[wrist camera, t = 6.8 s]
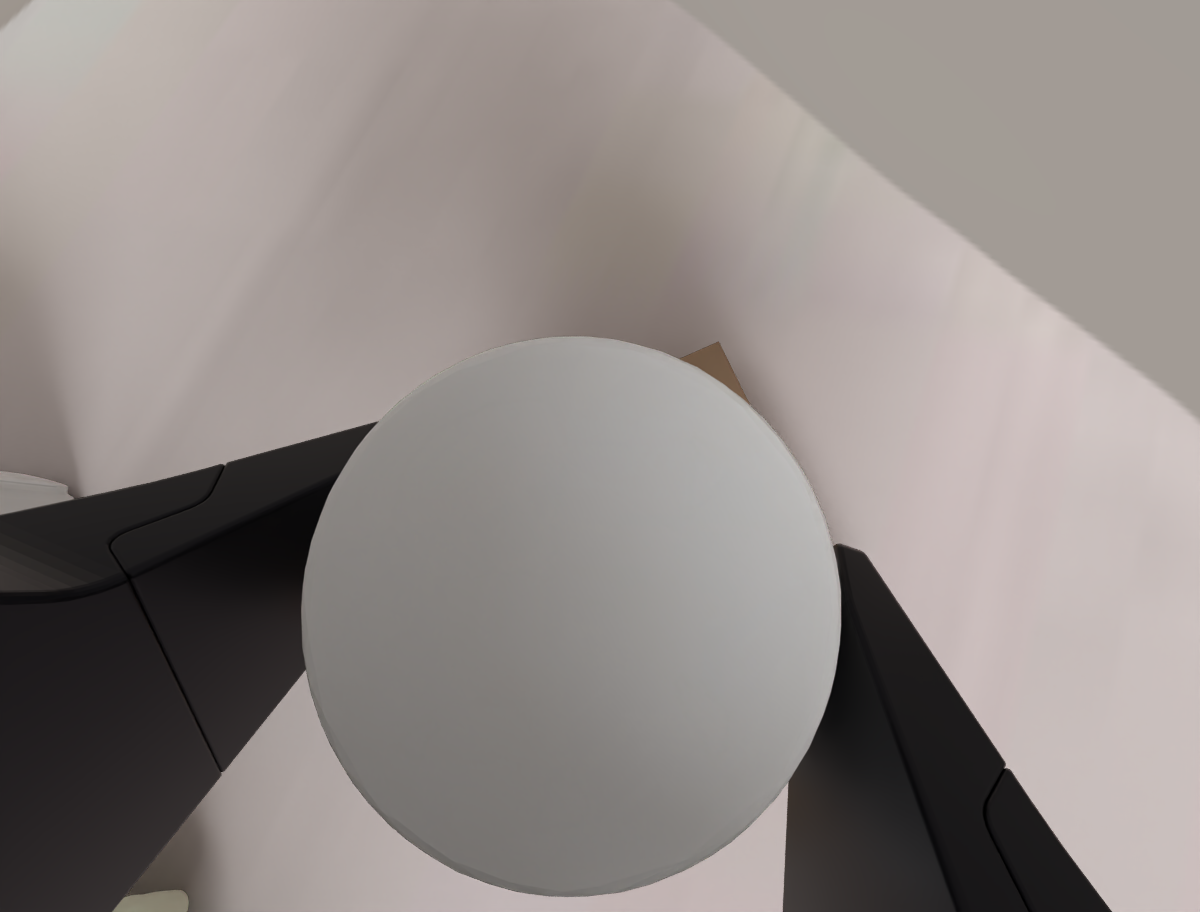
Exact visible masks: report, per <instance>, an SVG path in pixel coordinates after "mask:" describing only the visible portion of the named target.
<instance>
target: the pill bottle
mask: <svg viewBox="0 0 1200 912" xmlns="http://www.w3.org/2000/svg"><path fill="white" fill-rule="evenodd" d="M301 618H302V648H303V654H304V660H305V666H306V672H307V677H308V682H309V686H310V691H311V695H312V698H313V701H314V704H315V707H316V710H317V713H318V716H319V719H320V722H321V725H322V727H323V729H324V732H325V734H326V736H327V738H328V741H329V743H330V745H331V747H332V748H333V750H334V752H335V754H336V756H337V758H338V759H339V761H340V763H341V765H342V766H343V768H344V770H345V771H346V773H347V775H348V776H349V778H350V779H351V781H352V783H353V784H354V785H355V786H356V788H357V789H358V790H359V792H360V793H361V794H362V795H363V797H364V798H365V799H366V801H367V802H368V803H369V804H370V805H371V806H372V807H373V808H374V809H375V810H376V811H377V812H378V814H379V815H380V816H381V817H382V818H383V819H384V820H385V821H386V822H387V823H388V824H389V825H390V826H391V827H392V828H393V829H395V830H396V831H397V832H398V833H399V834H401V835H402V836H403V837H404V838H405V839H407V840H408V841H409V842H411V843H412V844H413V845H415V846H416V847H418V848H419V849H420V850H422V851H423V852H425V853H426V854H428V855H430V856H431V857H433V858H434V859H436V860H438V861H439V862H441V863H443V864H444V865H446V866H448V867H450V868H451V869H453V870H455V871H457V872H459V873H461V874H464V875H467V876H469V877H472V878H475V879H477V880H480V881H483V882H485V883H488V884H491V885H494V886H498V887H501V888H505V889H508V890H512V891H516V892H522V893H527V894H535V895H543V896H558V897H580V896H595V895H603V894H611V893H619V892H624V891H628V890H631V889H635V888H639V887H642V886H646V885H650V884H653V883H655V882H657V881H660V880H662V879H665V878H667V877H670V876H672V875H675V874H677V873H680V872H682V871H684V870H686V869H688V868H690V867H692V866H694V865H695V864H697V863H699V862H701V861H703V860H705V859H706V858H708V857H710V856H712V855H713V854H715V853H716V852H718V851H719V850H720V849H722V848H723V847H725V846H726V845H728V844H729V843H731V842H732V841H733V840H734V839H735V838H736V837H738V836H739V835H740V834H741V833H742V832H743V831H744V830H746V829H747V828H748V827H749V826H750V825H751V824H752V823H753V822H754V821H755V820H756V819H757V818H758V817H759V816H760V815H761V814H762V813H763V812H764V810H765V809H766V808H767V807H768V806H769V805H770V804H771V803H772V802H773V801H774V800H775V799H776V797H777V796H778V795H779V793H780V792H781V791H782V789H783V788H784V787H785V785H786V784H787V783H788V782H789V780H790V778H791V777H792V775H793V773H794V772H795V770H796V768H797V767H798V765H799V763H800V762H801V760H802V759H803V757H804V755H805V754H806V752H807V750H808V749H809V747H810V745H811V742H812V740H813V738H814V735H815V733H816V731H817V728H818V726H819V724H820V721H821V719H822V717H823V714H824V711H825V708H826V705H827V702H828V699H829V696H830V693H831V689H832V685H833V681H834V677H835V672H836V665H837V659H838V652H839V645H840V633H841V588H840V581H839V574H838V568H837V561H836V557H835V553H834V548H833V545H832V541H831V537H830V534H829V530H828V526H827V523H826V519H825V516H824V514H823V512H822V509H821V507H820V505H819V502H818V500H817V498H816V495H815V493H814V491H813V489H812V487H811V485H810V483H809V481H808V479H807V477H806V475H805V473H804V472H803V470H802V469H801V467H800V466H799V464H798V463H797V461H796V460H795V458H794V457H793V455H792V454H791V452H790V450H789V449H788V447H787V446H786V444H785V443H784V441H783V440H782V439H781V438H780V437H779V435H778V434H777V433H776V432H775V431H774V430H773V428H772V427H771V426H770V425H769V424H768V423H767V421H766V420H765V419H764V418H763V417H762V416H761V415H760V414H759V413H758V412H757V411H755V410H754V409H753V408H752V407H751V406H750V405H749V404H748V403H747V402H746V401H745V400H744V399H743V398H741V397H740V396H739V395H737V394H736V393H734V392H733V391H732V390H730V389H729V388H728V387H727V386H726V385H724V384H723V383H721V382H720V381H718V380H716V379H715V378H713V377H712V376H710V375H709V374H707V373H706V372H704V371H702V370H701V369H699V368H698V367H696V366H693V365H691V364H689V363H687V362H684V361H682V360H680V359H678V358H676V357H673V356H671V355H669V354H667V353H665V352H662V351H659V350H655V349H652V348H648V347H644V346H641V345H637V344H634V343H629V342H625V341H621V340H616V339H608V338H598V337H588V336H559V337H548V338H540V339H533V340H527V341H522V342H517V343H511V344H507V345H504V346H500V347H497V348H493V349H490V350H487V351H485V352H482V353H480V354H477V355H475V356H472V357H470V358H467V359H465V360H463V361H461V362H459V363H457V364H455V365H453V366H452V367H450V368H448V369H446V370H444V371H442V372H440V373H438V374H437V375H435V376H434V377H432V378H430V379H429V380H427V381H426V382H424V383H423V384H421V385H420V386H418V387H417V388H416V389H415V390H414V391H412V392H411V393H410V394H409V395H407V396H406V397H405V398H403V399H402V400H401V401H399V402H398V403H397V404H396V405H395V406H394V407H393V408H392V409H391V410H390V411H389V412H388V413H387V414H386V415H385V416H384V417H383V418H382V419H381V420H380V421H379V422H378V423H377V424H376V425H375V426H374V427H373V428H372V430H371V431H370V432H369V433H368V434H367V435H366V436H365V438H364V439H363V440H362V442H361V443H360V444H359V446H358V447H357V448H356V449H355V451H354V452H353V454H352V456H351V457H350V459H349V460H348V462H347V464H346V465H345V467H344V468H343V470H342V472H341V473H340V475H339V477H338V479H337V480H336V482H335V484H334V485H333V487H332V489H331V491H330V493H329V495H328V498H327V500H326V503H325V505H324V508H323V510H322V513H321V515H320V518H319V521H318V524H317V527H316V529H315V532H314V535H313V538H312V541H311V545H310V550H309V554H308V559H307V563H306V567H305V573H304V581H303V591H302V606H301Z"/></svg>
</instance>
